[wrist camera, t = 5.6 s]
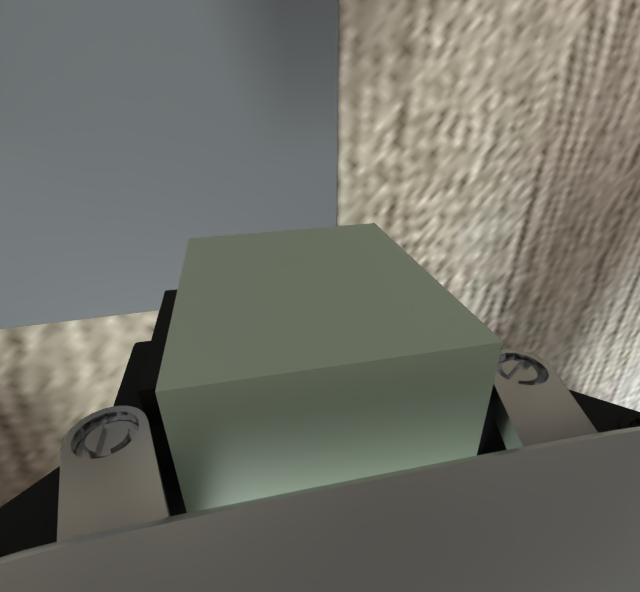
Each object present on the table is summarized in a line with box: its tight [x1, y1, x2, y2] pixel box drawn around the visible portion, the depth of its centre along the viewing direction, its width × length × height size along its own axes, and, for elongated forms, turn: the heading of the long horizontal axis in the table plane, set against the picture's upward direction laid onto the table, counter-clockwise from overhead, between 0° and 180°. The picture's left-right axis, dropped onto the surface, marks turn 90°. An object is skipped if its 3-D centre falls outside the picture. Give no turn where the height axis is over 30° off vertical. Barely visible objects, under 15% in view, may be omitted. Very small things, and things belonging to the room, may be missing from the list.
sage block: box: [155, 223, 503, 513], centre depth 9 cm, size 5×5×6 cm
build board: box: [0, 0, 339, 329], centre depth 13 cm, size 22×17×7 cm
